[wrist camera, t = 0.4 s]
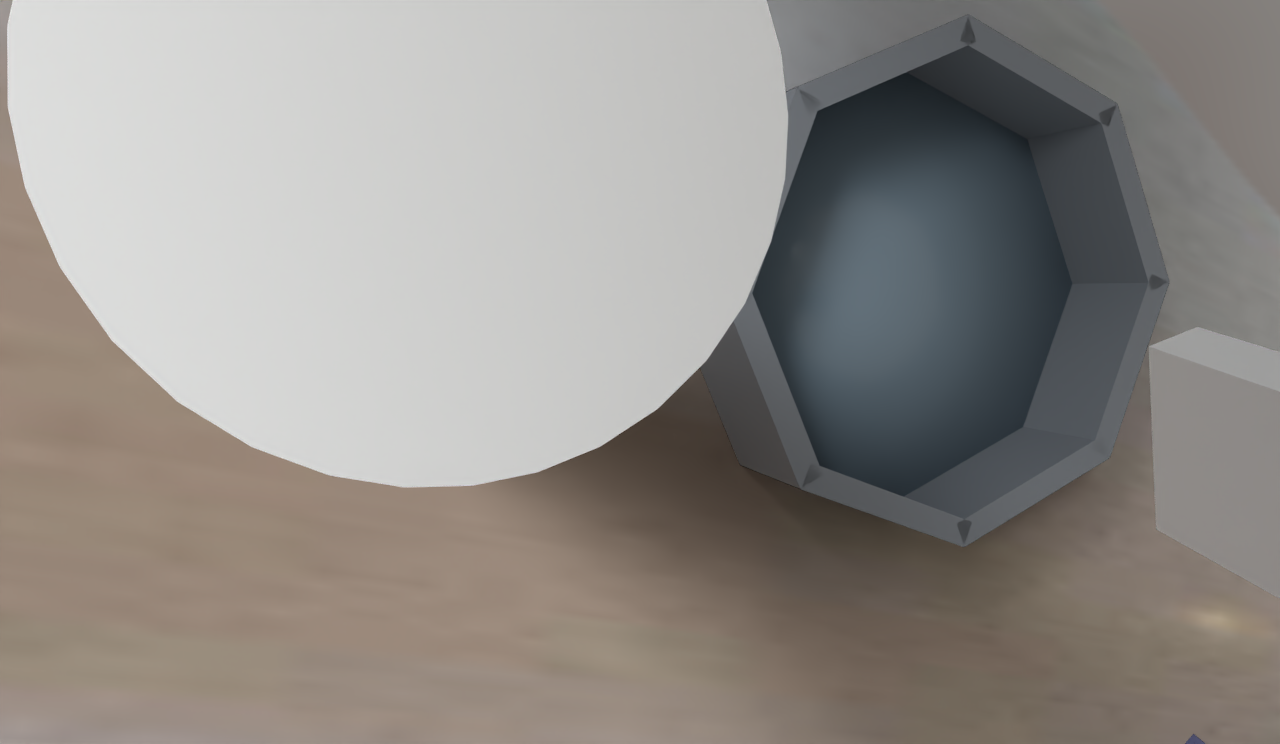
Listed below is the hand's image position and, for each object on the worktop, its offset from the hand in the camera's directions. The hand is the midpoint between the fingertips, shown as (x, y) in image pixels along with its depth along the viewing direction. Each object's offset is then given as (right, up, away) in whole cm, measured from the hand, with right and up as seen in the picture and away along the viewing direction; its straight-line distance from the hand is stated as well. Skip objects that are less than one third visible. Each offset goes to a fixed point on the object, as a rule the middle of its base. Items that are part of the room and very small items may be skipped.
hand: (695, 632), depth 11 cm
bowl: (+10, +7, +29) cm, 31 cm away
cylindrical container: (-11, +7, +22) cm, 25 cm away
